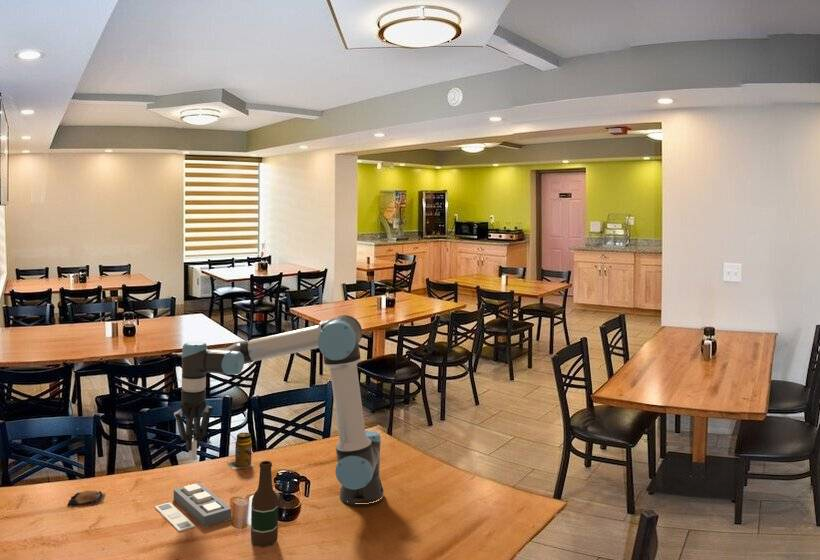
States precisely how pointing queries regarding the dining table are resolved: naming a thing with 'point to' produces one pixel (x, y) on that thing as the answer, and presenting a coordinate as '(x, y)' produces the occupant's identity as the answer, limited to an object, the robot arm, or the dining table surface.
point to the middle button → (201, 497)
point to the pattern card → (175, 516)
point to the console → (197, 511)
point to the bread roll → (86, 498)
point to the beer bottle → (264, 509)
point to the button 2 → (211, 507)
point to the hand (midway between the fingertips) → (192, 458)
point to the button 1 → (191, 489)
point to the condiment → (242, 452)
